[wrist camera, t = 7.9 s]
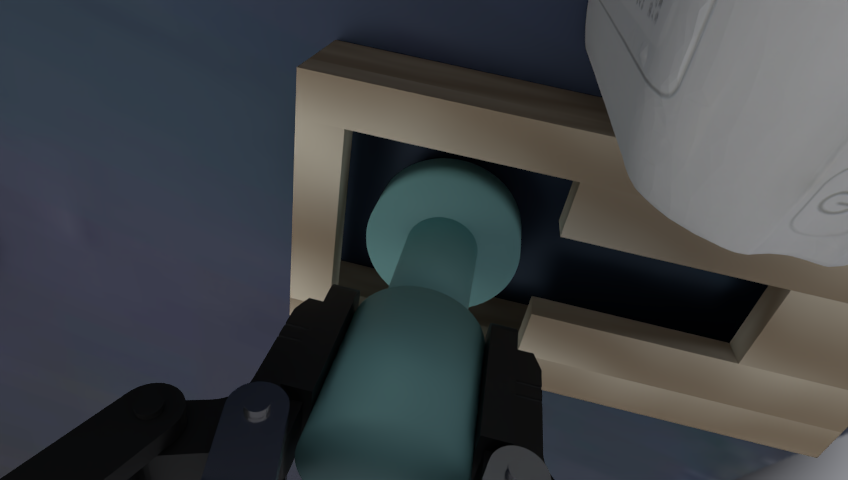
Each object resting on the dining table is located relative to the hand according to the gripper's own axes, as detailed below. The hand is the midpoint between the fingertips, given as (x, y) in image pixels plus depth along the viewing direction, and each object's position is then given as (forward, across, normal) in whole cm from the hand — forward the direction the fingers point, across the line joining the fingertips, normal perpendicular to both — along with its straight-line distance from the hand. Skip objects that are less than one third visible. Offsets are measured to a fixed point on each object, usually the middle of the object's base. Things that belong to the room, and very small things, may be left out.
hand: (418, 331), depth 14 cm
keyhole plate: (+7, -5, 0) cm, 9 cm away
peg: (+6, 0, 0) cm, 6 cm away
